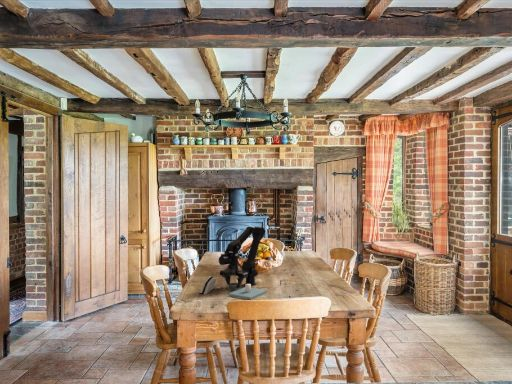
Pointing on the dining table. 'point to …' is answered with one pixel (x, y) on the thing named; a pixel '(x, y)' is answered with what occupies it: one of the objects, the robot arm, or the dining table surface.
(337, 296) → the dining table surface
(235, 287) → the ring
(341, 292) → the dining table surface
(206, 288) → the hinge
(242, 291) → the piston plate
